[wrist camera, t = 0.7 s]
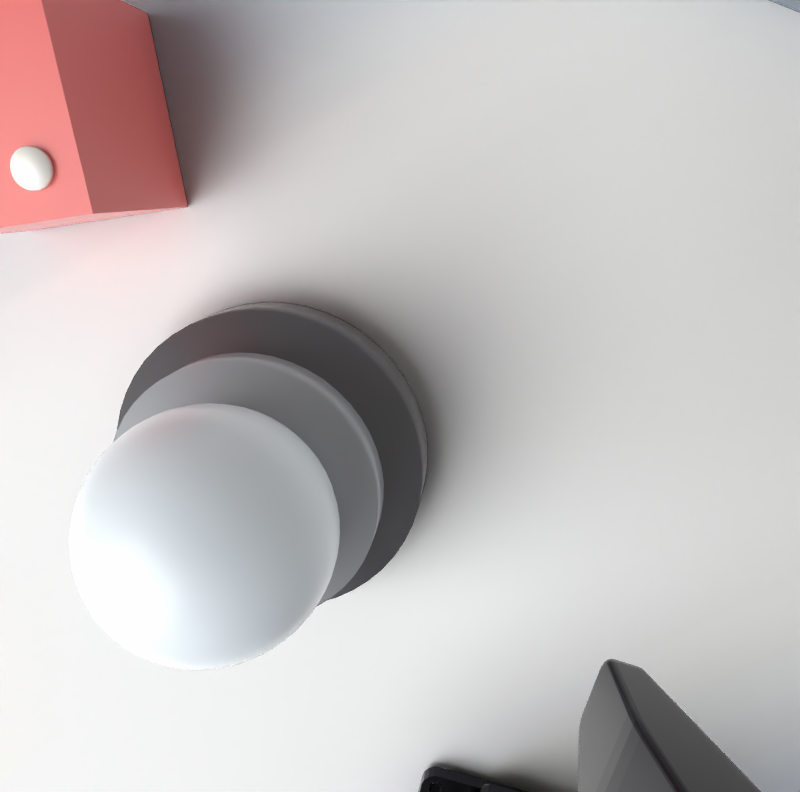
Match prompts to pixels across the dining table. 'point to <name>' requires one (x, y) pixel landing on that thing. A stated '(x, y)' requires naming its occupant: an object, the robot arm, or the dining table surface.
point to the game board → (789, 4)
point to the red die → (81, 116)
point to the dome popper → (225, 511)
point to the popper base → (340, 367)
